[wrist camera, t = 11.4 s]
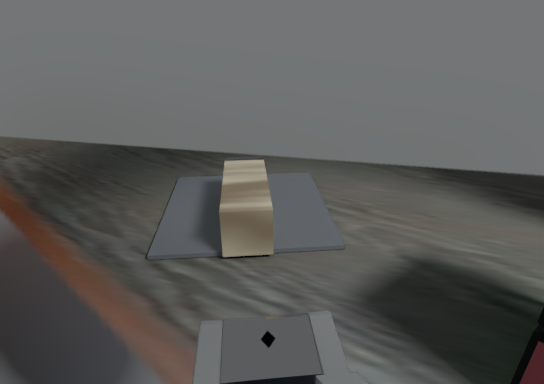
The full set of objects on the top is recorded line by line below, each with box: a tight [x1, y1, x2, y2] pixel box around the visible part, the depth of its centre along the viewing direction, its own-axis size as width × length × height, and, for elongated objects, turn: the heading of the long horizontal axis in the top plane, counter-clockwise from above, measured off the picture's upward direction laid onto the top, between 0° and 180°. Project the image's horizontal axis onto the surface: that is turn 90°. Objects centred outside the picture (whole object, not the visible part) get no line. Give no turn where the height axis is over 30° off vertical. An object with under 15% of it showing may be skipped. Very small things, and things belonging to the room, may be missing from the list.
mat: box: [147, 172, 345, 260], centre depth 35 cm, size 16×16×1 cm
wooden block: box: [219, 156, 273, 257], centre depth 32 cm, size 4×4×12 cm
